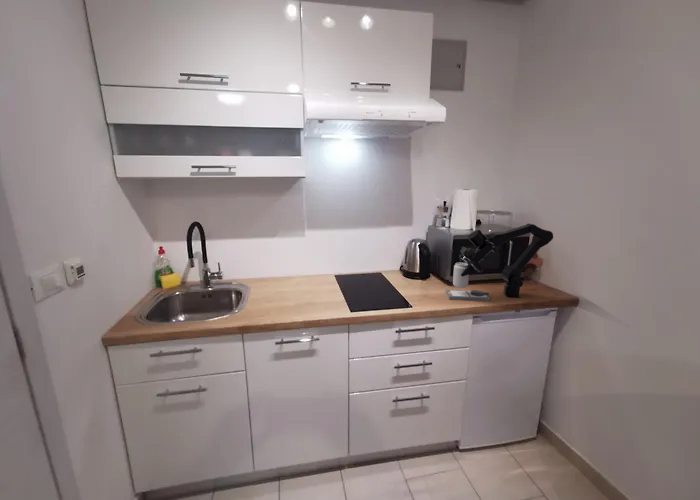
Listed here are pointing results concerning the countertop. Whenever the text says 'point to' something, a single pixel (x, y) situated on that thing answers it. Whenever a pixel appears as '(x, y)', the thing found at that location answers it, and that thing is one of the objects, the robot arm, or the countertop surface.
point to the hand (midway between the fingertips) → (458, 273)
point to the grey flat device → (467, 295)
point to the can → (457, 277)
